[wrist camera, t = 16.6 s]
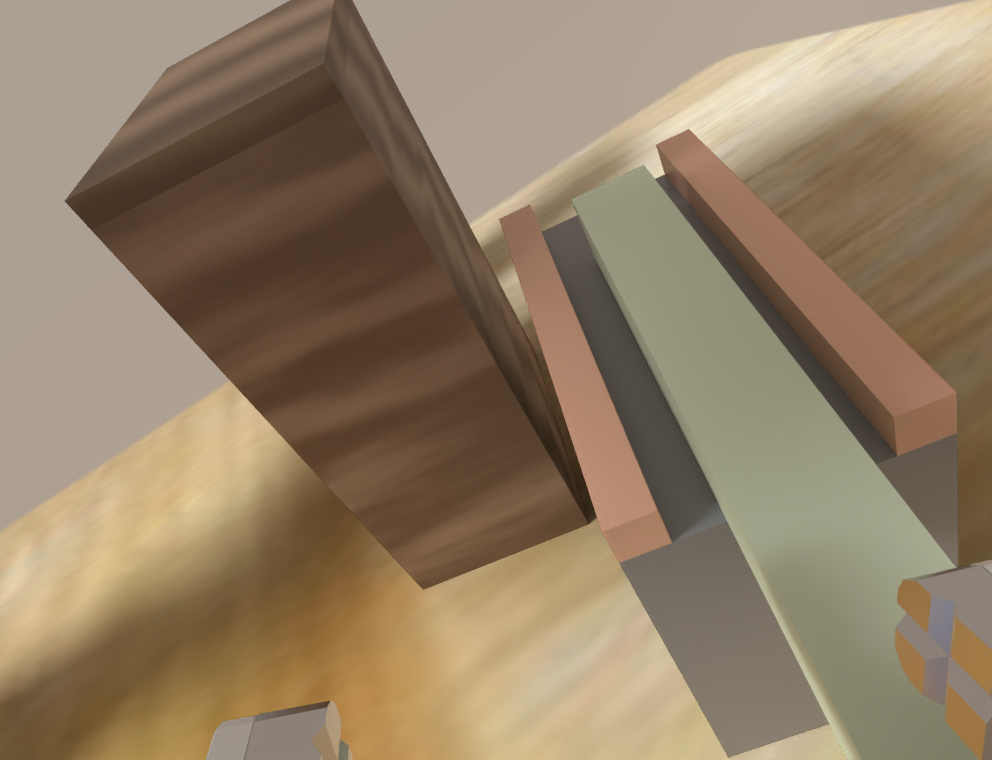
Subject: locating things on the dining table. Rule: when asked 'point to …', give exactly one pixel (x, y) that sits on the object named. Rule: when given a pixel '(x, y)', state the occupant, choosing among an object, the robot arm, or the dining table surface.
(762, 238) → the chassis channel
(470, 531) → the walnut stand
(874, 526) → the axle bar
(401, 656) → the dining table surface
